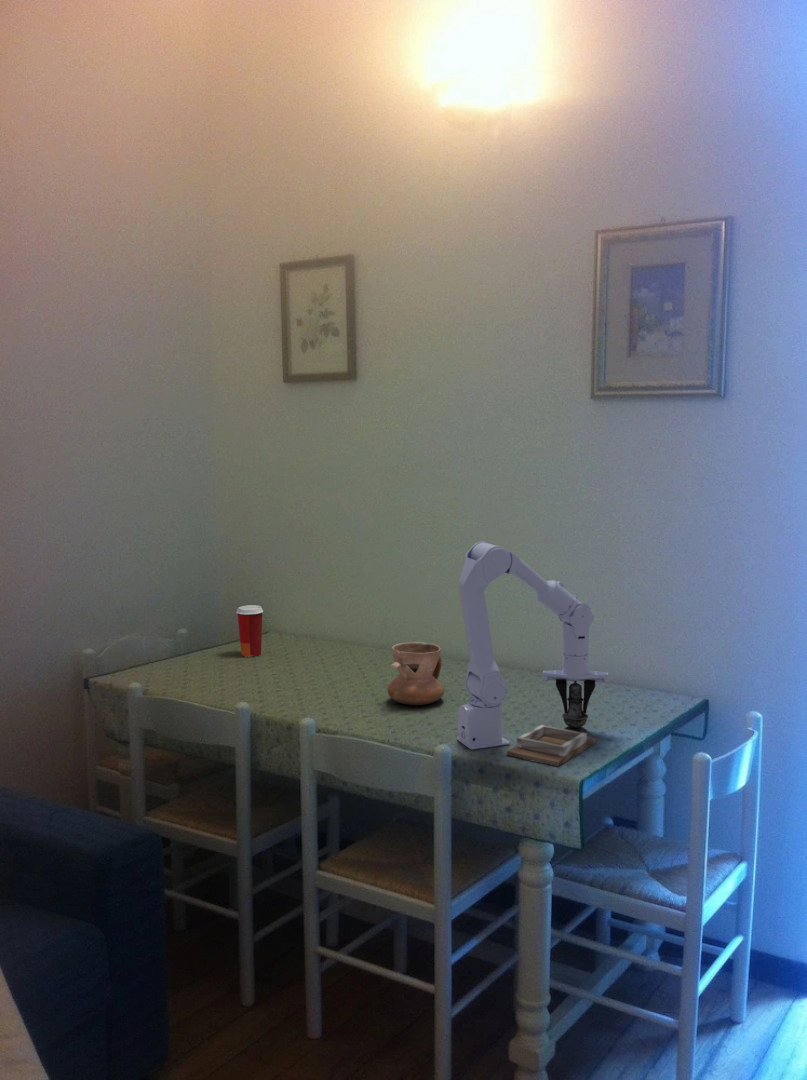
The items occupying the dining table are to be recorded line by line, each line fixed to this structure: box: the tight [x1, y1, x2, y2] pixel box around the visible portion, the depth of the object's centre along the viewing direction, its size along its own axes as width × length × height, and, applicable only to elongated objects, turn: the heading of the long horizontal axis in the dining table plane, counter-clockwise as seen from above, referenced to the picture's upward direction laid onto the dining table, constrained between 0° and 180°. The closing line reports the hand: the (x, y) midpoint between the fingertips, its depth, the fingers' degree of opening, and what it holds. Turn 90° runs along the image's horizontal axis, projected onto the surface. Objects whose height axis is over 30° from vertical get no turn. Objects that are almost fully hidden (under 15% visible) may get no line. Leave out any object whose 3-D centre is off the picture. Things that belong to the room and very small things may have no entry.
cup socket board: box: [506, 724, 597, 767], centre depth 208 cm, size 18×12×3 cm, turn 144°
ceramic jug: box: [386, 641, 445, 706], centre depth 245 cm, size 18×14×14 cm
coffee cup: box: [235, 604, 264, 658], centre depth 297 cm, size 8×8×15 cm
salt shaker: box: [561, 681, 589, 733], centre depth 219 cm, size 6×6×12 cm
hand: (575, 711), depth 219 cm, fingers closed on salt shaker, 3 cm apart
